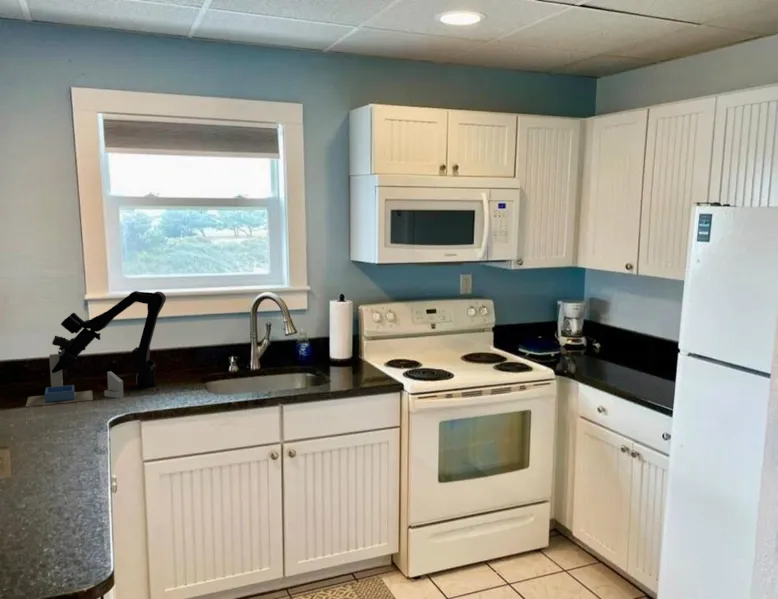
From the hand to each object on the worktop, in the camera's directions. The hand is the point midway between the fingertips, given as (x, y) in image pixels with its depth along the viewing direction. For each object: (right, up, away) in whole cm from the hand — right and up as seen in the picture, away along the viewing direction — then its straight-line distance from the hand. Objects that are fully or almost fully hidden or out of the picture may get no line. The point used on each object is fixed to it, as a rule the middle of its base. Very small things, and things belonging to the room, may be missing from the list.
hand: (52, 371), depth 255 cm
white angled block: (+28, -10, -8) cm, 31 cm away
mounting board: (+10, -10, -12) cm, 18 cm away
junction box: (+10, -9, -13) cm, 18 cm away
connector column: (+1, -7, +2) cm, 7 cm away
